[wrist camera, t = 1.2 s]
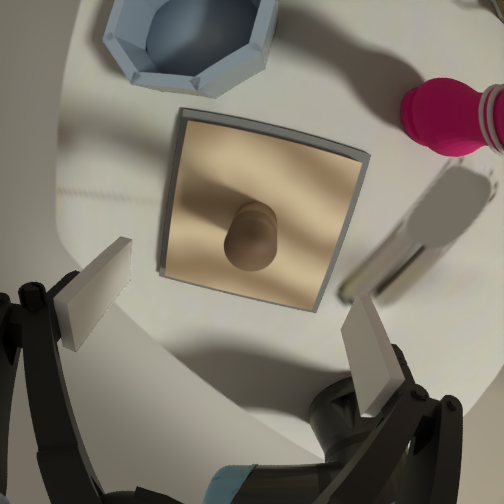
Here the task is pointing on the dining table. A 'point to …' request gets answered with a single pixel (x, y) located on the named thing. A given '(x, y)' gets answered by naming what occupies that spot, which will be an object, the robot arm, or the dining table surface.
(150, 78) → the bowl
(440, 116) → the pepper mill
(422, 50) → the dining table surface
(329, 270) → the mat
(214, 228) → the lid
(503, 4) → the ceramic cup
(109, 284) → the robot arm
